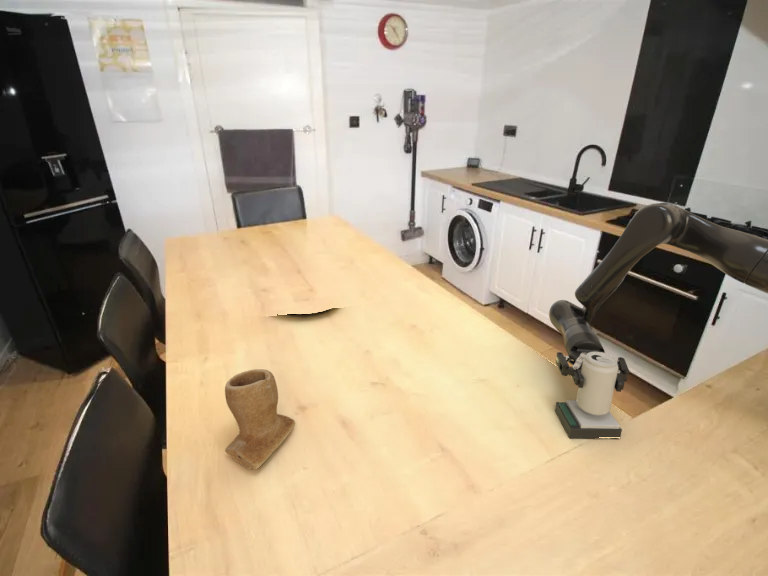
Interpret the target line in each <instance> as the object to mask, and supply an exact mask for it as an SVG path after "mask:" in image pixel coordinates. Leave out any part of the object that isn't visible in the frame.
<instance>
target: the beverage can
mask: <svg viewBox="0 0 768 576" xmlns="http://www.w3.org/2000/svg"><path fill="white" fill-rule="evenodd" d="M617 360H618V359H617V358H616V357H614V356H613V355H611V354H610V353H607V352H605V353H603V352H589V353H587V354H586V357H585V358H584V359H583V363H582V369H581V373H582V376H583V378H584V383H583V388H579V387H578V386H577V393H576V399H575V400H576V402H577V405H578V406H579V407H580V408H581V409H582V410H583V411H585V412H587V413H589V414H592V415H603V414H606V413H608V412H609V411H611V406H612V402H613V397H614V392H615V382H616V378H617V373H618V365H617Z"/></svg>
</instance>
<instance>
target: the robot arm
mask: <svg viewBox="0 0 768 576" xmlns="http://www.w3.org/2000/svg"><path fill="white" fill-rule="evenodd" d="M659 245H667V246H670V247H674V248H677V249H680V250H682V251H685V252H689V253H691V254H693V255H696V256H697V257H699V258H701V259H703V260H705V261H707V262H708V263H709V264H711V265H712V266H713V267H715V268H716V269H718V270H719V271H721V272H722V273H724V274H725V275H726V276H728V277H730V278H732V279H733V280H735V281H737V282H740V283H742V284H744V285H746V286H748V287H751V288H753V289H756V290H758V291H760V292H763V293H765V294H768V239H767V238H763V237H760V236H758V235H754V234H751V233H748V232H744V231H740V230H736V229H733V228H729V227H725V226H722V225H719V224H717V223H714V222H712V221H710V220H707V219H705V218H703V217H700V216H699V215H696V214H694V213H692V212H690V211H689V210H686V209H684V208H682V207H680V206H679V205H676V204H674V203H669V202H660V203H650V204H647V205H644V206H642V207H641V208H640V209H638V210H637V211H636V212H635V214H634V215H633V216H632V218H631V219H630V221H629V222H628V223H627V225H626V227H625V228H624V230H623V231H622V233H621V235H620V236H619V238H618V240H616V242H615V244H614V245H613V246H612V248H611V249H610V251H609V252H607V254H606V255H605V256H604V258H602V260H601V261H600V262H599V264H597V266H596V267H595V268H594V269H593V270H592V271H591V272H590V273H589V274H588V276H587V277H586V278H585V279H584V280H583V281H582V282H581V283H580V284H579V286H577V288H576V289H575V291H574V297H575V299H576V300H577V302H578V303H579V304H580V305H582V306H583V307H581V306H578V305H576V304H574V303H572V302H570V301H569V300H566V299H559V300H557V301H555V302H553V303H552V305H551V306H550V308H549V311H548V318H549V321H550V323H551V325H552V326H553V327H554V328H555V329H556V330H557V331H558V332H559V333H560V334H561V336H562V339H563V344H564V349H565V351H566V354H567V355H564V353H563V352H561V351H557V352H556V357H555V364H556V366H557V368H558V370H559V372H560V374H561V376H563V377H568V376H570V377H571V379H572V381H573V384H574V385H575V386H577V388H578V387H579V388H583V383H584V378H583V376H582V373H581V369H582V363H583V359H584V358H585V357H586V354H587V353H589V352H603V353H606V351H605V348H604V346H603V345H602V343H601V341H600V339H599V337H598V336H597V334H596V333H595V331H594V330H593V329H592V327H591V323H592V322H593V319H594V317H595V315H596V313H597V311H598V310H599V309H600V307H601V306H602V304H603V303H604V302H606V301H607V299H609V297H611V296H612V294H613V293H614V292H615V291H616V290H617V289H618V288H619V287H620V285H621V284H622V283H623V281H624V280H625V278H626V276H627V275H628V273H629V272H630V271H631V269H632V268H633V267H634V266H635V265H636V264H637V263H638V262H639V261H640V260H641V259H642V258H643V257H644V256H646V255H647V254H649V252H651V251H652V250H654V249H655V248H656V247H658V246H659ZM616 360H617V365H618V373H617V378H616V382H615V387H614V390H615V391H616V392H620V393H621V392H622V390H624V387H625V383H626V382H628V377H629V373H630V369H629V366H628V364H627V362H626V359H625V358H624V357H621V356H619V357H618V358H617V359H616ZM570 364H571V365H572V366H570Z"/></svg>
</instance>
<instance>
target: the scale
mask: <svg viewBox="0 0 768 576" xmlns="http://www.w3.org/2000/svg"><path fill="white" fill-rule="evenodd" d="M576 400H577V399H569V400H568V399H566V400H565V402H564V401H559V402H555V408H554V412H555V415H556V416H557V418H558V419H559V421H560V423H561V426H562V427H563V429H564V431H565V432H566V435H567V436H568V438H569V439H570V440H571V439H572V440H596V439H595V438H599V437H620V438H621V436H622V432H623V429H622V428H621V425H620V424H619V422H618V421H617V420H616V418H615V417H614V415H613V414H612V412H610V411H611V410H610V411H609V412H608V413H606V414H603V415H592V414H589V413H587V412H585V411H583V410H582V409H581V408H580V407H579V406H578V405H577V402H576Z"/></svg>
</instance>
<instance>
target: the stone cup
mask: <svg viewBox="0 0 768 576" xmlns="http://www.w3.org/2000/svg"><path fill="white" fill-rule="evenodd" d="M278 391H279V390H278V385H277V381H276V379H275V376H274V374H273V372H272V371H270V370H268V369H263V368H255V369H250V370H249V369H248V370H246V371H242V372H240V373H237V374H235V375H234V376H232V377H230V379H229V380H227V382H226V384H225V386H224V395H225V396H224V397H225V403H226V405H227V407H228V409H229V411H230V412H231V414H232V416H233V417H234V420H235V422H236V424H237V426H238V429H239V434H238V435H236V437H235V438H234V439H233V440H232V441H231V442H230V444H228V446H227V447H226V448H225V450H224V451H225V453H226V454H227V455H229V456H230V457H231V459H232V460H234V461H235V462H236V463H238V464H239V465H240V466H243V467H245V468H246V469H250V470H257V469H259V468H260V467H261V466H262V465H263V464H264V463H265V462H266V461H267V460H268V459H269V458H270V457H271V456H272V455H273V454H274V453H275V451H276V450H277V449H278V448H279V447H280V446H281V444H282V443H284V441H285V440H286V438H287V437H288V436H289V435H290V434H291V432H292V431H293V430H294V427H295V425H296V421H295V420H294V419H293V418H291V417H289V416H288V415H287V416H286V415H283V414H279V413H278V403H279V392H278Z"/></svg>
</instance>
